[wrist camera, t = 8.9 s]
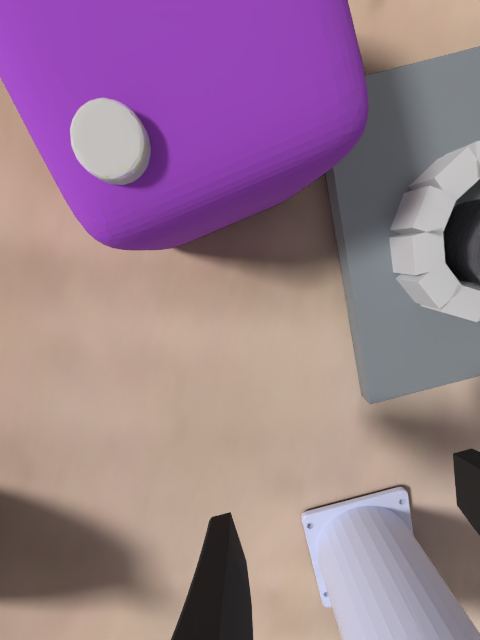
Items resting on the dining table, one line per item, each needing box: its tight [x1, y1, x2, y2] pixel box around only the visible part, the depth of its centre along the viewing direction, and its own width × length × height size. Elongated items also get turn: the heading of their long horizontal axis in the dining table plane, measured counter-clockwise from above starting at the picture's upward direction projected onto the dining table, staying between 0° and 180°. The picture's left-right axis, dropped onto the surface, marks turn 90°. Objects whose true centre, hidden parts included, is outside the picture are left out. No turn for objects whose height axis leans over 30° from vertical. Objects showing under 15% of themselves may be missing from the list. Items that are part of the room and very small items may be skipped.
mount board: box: [325, 46, 480, 404], centre depth 16 cm, size 18×14×4 cm
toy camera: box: [0, 0, 369, 250], centre depth 11 cm, size 11×14×10 cm
